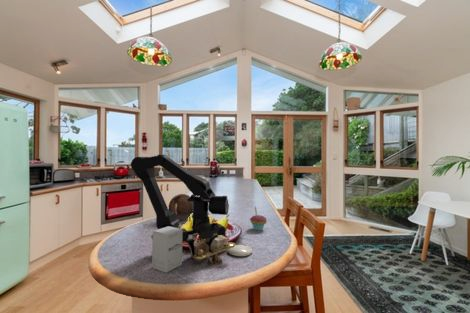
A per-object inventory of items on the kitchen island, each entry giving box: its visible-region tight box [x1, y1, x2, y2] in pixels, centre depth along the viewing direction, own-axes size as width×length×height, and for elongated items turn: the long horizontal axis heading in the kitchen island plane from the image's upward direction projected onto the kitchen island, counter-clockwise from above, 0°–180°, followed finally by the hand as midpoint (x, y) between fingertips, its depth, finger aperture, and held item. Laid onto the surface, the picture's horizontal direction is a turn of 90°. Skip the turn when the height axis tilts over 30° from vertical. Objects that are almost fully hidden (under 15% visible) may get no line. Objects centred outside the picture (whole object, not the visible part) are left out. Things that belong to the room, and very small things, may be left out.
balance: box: [194, 241, 236, 266], centre depth 90 cm, size 16×4×6 cm, turn 118°
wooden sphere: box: [168, 193, 193, 221], centre depth 146 cm, size 15×15×15 cm
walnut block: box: [190, 240, 210, 262], centre depth 94 cm, size 5×5×5 cm
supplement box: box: [151, 226, 183, 273], centre depth 86 cm, size 7×7×13 cm
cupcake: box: [249, 206, 268, 231], centre depth 131 cm, size 9×8×12 cm
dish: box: [227, 244, 253, 257], centre depth 99 cm, size 10×10×1 cm
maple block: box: [209, 234, 229, 254], centre depth 102 cm, size 5×5×5 cm
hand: (199, 254), depth 94 cm, fingers closed on walnut block, 5 cm apart
